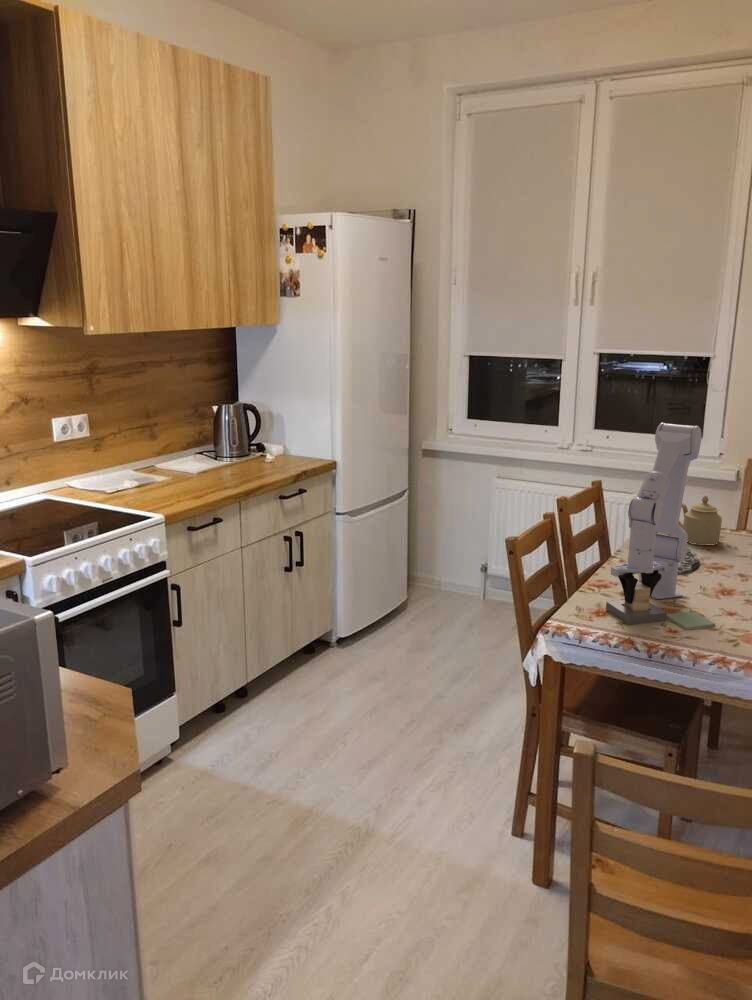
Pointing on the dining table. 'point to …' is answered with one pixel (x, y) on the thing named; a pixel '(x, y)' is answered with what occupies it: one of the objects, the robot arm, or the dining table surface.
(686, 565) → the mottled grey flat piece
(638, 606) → the beech block
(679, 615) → the green mat
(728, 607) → the dining table surface
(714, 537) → the olive yellow teapot
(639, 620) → the pocket plate
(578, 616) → the dining table surface
